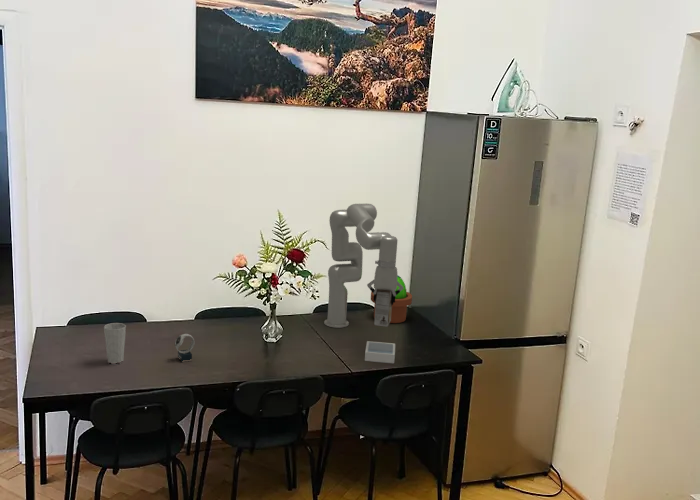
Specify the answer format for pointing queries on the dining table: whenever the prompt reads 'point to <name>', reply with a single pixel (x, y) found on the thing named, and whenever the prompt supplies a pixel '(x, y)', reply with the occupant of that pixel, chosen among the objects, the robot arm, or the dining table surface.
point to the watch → (184, 353)
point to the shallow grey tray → (380, 352)
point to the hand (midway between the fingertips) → (384, 302)
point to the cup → (115, 341)
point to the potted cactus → (398, 303)
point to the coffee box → (383, 307)
